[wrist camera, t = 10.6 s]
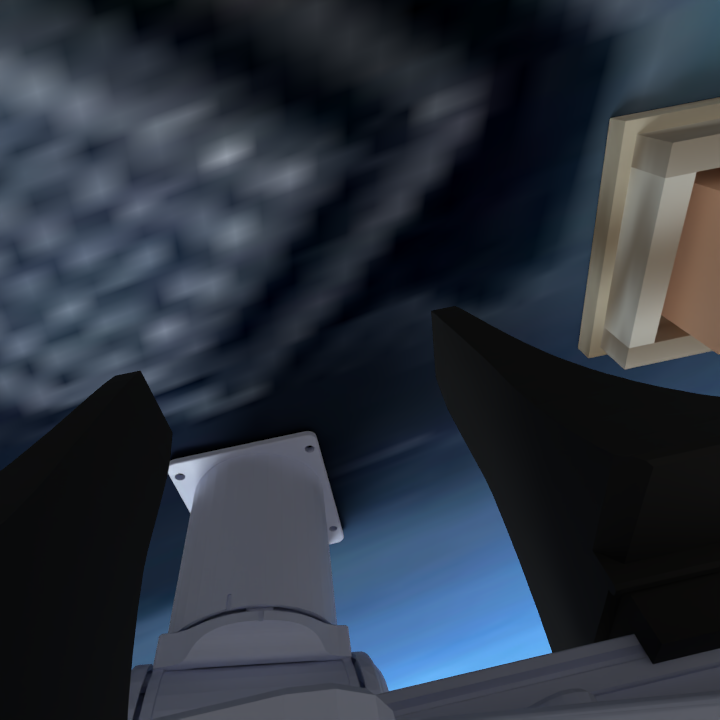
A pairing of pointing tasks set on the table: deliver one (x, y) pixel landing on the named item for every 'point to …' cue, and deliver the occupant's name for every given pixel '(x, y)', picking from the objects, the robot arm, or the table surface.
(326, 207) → the table surface
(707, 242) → the keyed block
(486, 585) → the table surface
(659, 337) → the stand
